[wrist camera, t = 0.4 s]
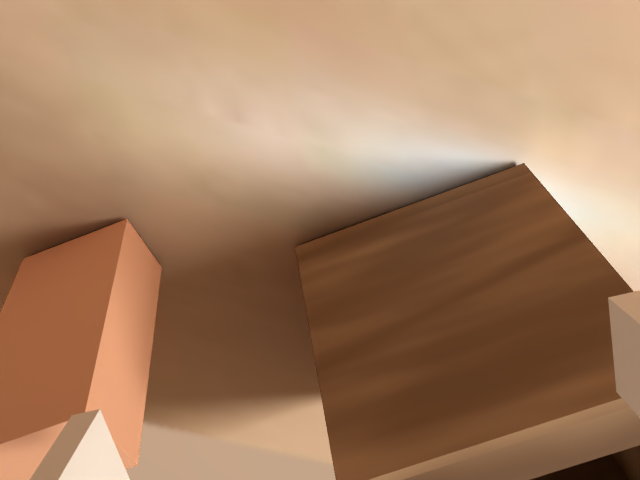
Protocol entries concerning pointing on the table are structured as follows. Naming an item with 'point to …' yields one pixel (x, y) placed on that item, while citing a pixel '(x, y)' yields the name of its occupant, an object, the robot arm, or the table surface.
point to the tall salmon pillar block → (77, 344)
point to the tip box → (469, 341)
